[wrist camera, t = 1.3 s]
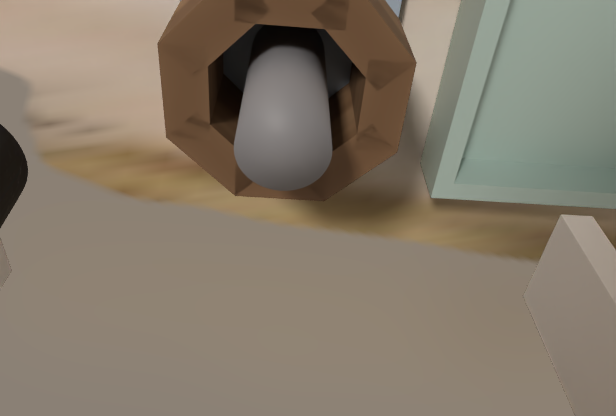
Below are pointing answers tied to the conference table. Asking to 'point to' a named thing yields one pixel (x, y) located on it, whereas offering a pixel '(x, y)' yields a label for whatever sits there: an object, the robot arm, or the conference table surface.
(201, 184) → the conference table surface
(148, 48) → the conference table surface
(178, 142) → the ring
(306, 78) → the stake stand
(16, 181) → the travel mug
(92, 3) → the conference table surface
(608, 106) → the tray
